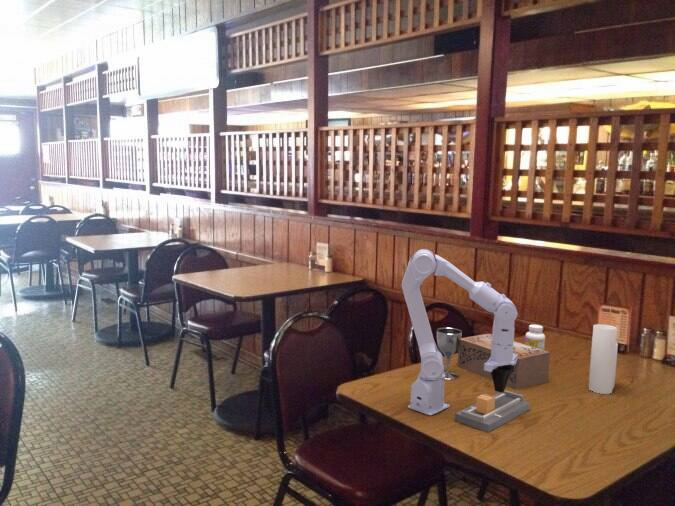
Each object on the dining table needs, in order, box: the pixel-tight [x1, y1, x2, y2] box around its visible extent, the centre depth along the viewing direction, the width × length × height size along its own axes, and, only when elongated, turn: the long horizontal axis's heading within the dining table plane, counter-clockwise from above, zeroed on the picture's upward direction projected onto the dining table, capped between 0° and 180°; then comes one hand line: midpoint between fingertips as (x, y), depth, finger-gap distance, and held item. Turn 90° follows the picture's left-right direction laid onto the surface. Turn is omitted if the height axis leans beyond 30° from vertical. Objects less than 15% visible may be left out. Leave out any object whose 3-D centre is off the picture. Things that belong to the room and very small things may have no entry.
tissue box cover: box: [457, 333, 551, 390], centre depth 192 cm, size 26×14×10 cm, turn 32°
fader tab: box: [475, 393, 495, 414], centre depth 155 cm, size 4×3×4 cm
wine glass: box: [436, 327, 463, 380], centre depth 189 cm, size 8×8×15 cm
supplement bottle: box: [524, 324, 546, 351], centre depth 206 cm, size 7×7×13 cm
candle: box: [588, 323, 619, 395], centre depth 180 cm, size 11×7×20 cm, turn 149°
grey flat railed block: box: [454, 389, 531, 433], centre depth 158 cm, size 23×10×3 cm, turn 135°
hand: (499, 391), depth 160 cm, fingers closed
